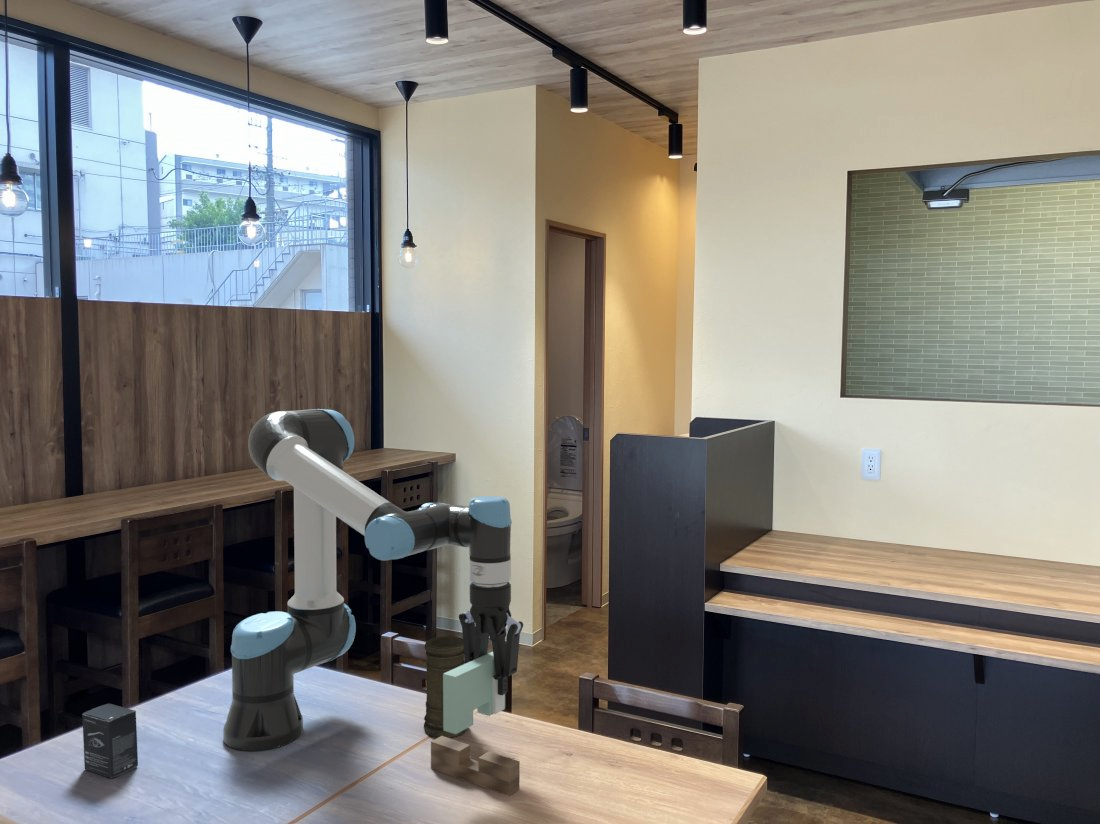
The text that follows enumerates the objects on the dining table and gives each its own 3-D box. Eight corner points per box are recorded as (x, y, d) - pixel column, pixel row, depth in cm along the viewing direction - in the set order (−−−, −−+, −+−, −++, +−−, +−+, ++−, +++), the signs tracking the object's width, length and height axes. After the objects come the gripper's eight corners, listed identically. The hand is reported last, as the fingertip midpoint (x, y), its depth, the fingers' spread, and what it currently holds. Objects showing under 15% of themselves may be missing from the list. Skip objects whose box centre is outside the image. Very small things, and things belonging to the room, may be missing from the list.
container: (460, 740, 167) (460, 651, 166) (417, 735, 169) (417, 647, 168) (473, 721, 176) (473, 636, 175) (432, 717, 178) (432, 633, 177)
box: (138, 767, 155) (137, 709, 154) (110, 780, 150) (109, 720, 149) (111, 757, 159) (110, 701, 158) (82, 769, 154) (81, 712, 153)
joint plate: (455, 734, 144) (455, 676, 144) (443, 730, 146) (443, 673, 145) (505, 707, 156) (504, 654, 155) (493, 704, 157) (492, 651, 157)
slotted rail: (430, 768, 155) (430, 741, 155) (441, 761, 158) (441, 735, 157) (509, 796, 145) (509, 768, 145) (519, 789, 148) (519, 761, 147)
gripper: (443, 580, 155) (444, 705, 156) (513, 593, 146) (513, 726, 147) (469, 572, 161) (470, 693, 162) (537, 583, 152) (538, 711, 153)
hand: (490, 708), depth 154 cm, fingers closed on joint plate, 3 cm apart
